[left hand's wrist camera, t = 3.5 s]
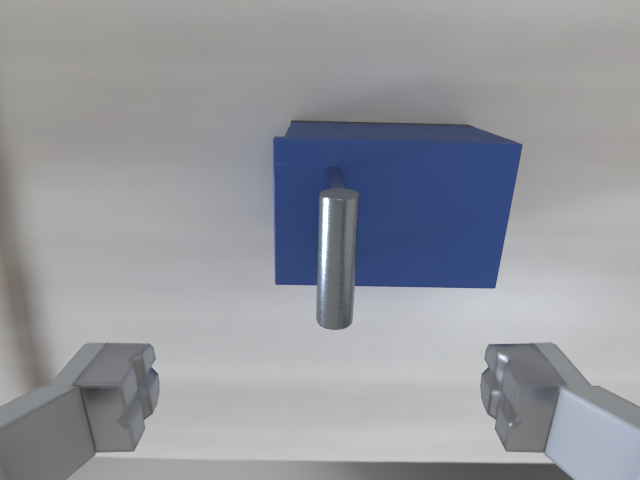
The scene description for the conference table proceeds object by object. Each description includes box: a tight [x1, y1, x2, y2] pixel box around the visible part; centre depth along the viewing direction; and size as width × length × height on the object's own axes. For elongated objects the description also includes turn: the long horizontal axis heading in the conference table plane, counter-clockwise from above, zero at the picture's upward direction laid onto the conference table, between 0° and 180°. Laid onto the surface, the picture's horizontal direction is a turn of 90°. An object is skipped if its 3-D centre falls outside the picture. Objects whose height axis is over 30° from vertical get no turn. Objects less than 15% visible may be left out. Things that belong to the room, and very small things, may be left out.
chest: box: [285, 121, 514, 142], centre depth 31 cm, size 14×9×9 cm
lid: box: [273, 137, 522, 330], centre depth 23 cm, size 14×9×8 cm, turn 89°
